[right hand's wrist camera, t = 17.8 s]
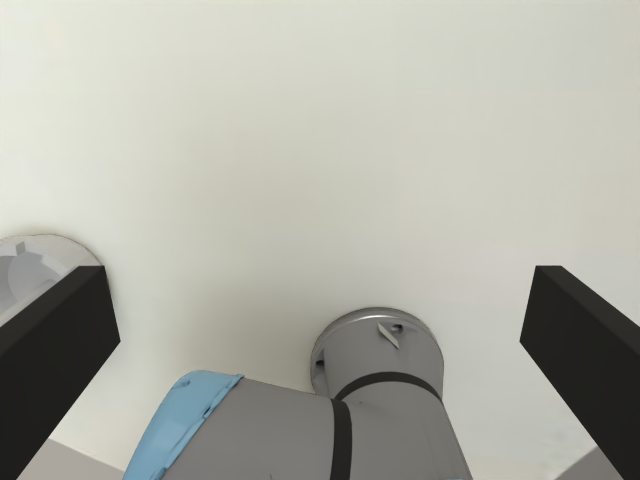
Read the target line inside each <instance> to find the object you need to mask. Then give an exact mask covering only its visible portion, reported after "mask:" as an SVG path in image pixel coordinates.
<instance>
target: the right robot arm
mask: <svg viewBox="0 0 640 480" xmlns="http://www.w3.org/2000/svg"><path fill="white" fill-rule="evenodd" d="M120 342H121V341H120V336H119V332H118V327H117V323H116V318H115V313H114V309H113V304H112V300H111V295H110V290H109V286H108V281H107V277H106V272H105V267H104V266H78V267H77V268H75V269H74V270H73V271H71V272H70V273H69V274H68V275H66V276H65V277H64V278H62V279H61V280H60V281H59V282H57V283H56V284H55V285H54V286H52V287H51V288H50V289H48V290H47V291H46V292H45V293H43V294H42V295H41V296H39V297H38V298H37V299H36V300H34V301H33V302H32V303H30V304H29V305H28V306H27V307H25V308H24V309H23V310H21V311H20V312H19V313H18V314H16V315H15V316H14V317H12V318H11V319H10V320H9V321H7V322H6V323H5V324H4V325H2V326H1V327H0V480H16V479H17V478H18V477H19V475H20V474H21V473H22V471H23V470H24V469H25V467H26V466H27V465H28V463H29V462H30V461H31V459H32V458H33V457H34V455H35V454H36V453H37V451H38V450H39V449H40V448H41V446H42V445H43V443H44V442H45V441H46V439H47V438H48V437H49V436H50V434H51V433H52V432H53V430H54V429H55V428H56V426H57V425H58V424H59V422H60V421H61V420H62V418H63V417H64V416H65V414H66V413H67V412H68V410H69V409H70V408H71V407H72V405H73V404H74V403H75V401H76V400H77V399H78V397H79V396H80V395H81V393H82V392H83V391H84V389H85V388H86V387H87V385H88V384H89V383H90V381H91V380H92V379H93V377H94V376H95V375H96V373H97V372H98V371H99V369H100V368H101V367H102V365H103V364H104V363H105V362H106V360H107V359H108V358H109V356H110V355H111V354H112V352H113V351H114V350H115V348H116V347H117V346H118V344H119V343H120ZM519 342H520V343H521V344H522V346H523V347H524V348H525V350H526V351H527V352H528V354H529V355H530V356H531V358H532V359H533V360H534V362H535V363H536V364H537V365H538V367H539V368H540V369H541V371H542V372H543V373H544V375H545V376H546V377H547V379H548V380H549V381H550V383H551V384H552V385H553V387H554V388H555V389H556V391H557V392H558V393H559V395H560V396H561V397H562V399H563V400H564V401H565V403H566V404H567V405H568V407H569V408H570V409H571V410H572V412H573V413H574V414H575V416H576V417H577V418H578V420H579V421H580V422H581V424H582V425H583V426H584V428H585V429H586V430H587V432H588V433H589V434H590V436H591V437H592V438H593V440H594V441H595V442H596V444H597V445H598V446H599V448H600V449H601V450H602V452H603V453H604V454H605V455H606V457H607V458H608V459H609V461H610V462H611V463H612V465H613V466H614V467H615V469H616V470H617V471H618V473H619V474H620V475H621V477H622V478H623V479H624V480H640V327H639V326H638V325H636V324H635V323H634V322H633V321H631V320H630V319H629V318H628V317H626V316H625V315H624V314H622V313H621V312H620V311H619V310H617V309H616V308H615V307H613V306H612V305H611V304H610V303H608V302H607V301H606V300H604V299H603V298H602V297H601V296H599V295H598V294H597V293H595V292H594V291H593V290H592V289H590V288H589V287H588V286H586V285H585V284H584V283H583V282H581V281H580V280H579V279H578V278H576V277H575V276H574V275H572V274H571V273H570V272H569V271H567V270H566V269H565V268H563V267H562V266H536V267H535V272H534V277H533V281H532V286H531V290H530V295H529V300H528V304H527V309H526V313H525V318H524V323H523V327H522V332H521V336H520V341H519ZM443 374H444V361H443V356H442V353H441V350H440V348H439V346H438V343H437V341H436V339H435V337H434V335H433V334H432V332H431V331H430V330H429V328H428V327H427V326H426V325H425V324H424V323H423V322H421V321H420V320H419V319H417V318H415V317H414V316H412V315H410V314H408V313H405V312H403V311H399V310H396V309H390V308H367V309H362V310H357V311H354V312H351V313H349V314H347V315H344V316H342V317H341V318H339V319H337V320H336V321H334V322H333V323H332V324H330V325H329V326H328V327H327V328H326V329H325V330H324V331H323V333H322V334H321V335H320V337H319V338H318V340H317V342H316V344H315V346H314V349H313V352H312V357H311V381H312V385H313V388H314V390H315V392H316V394H317V395H315V394H311V393H306V392H301V391H297V390H292V389H288V388H283V387H279V386H275V385H271V384H267V383H262V382H258V381H254V380H250V379H246V378H244V375H241V374H238V375H236V376H233V375H228V374H222V373H216V372H210V371H204V370H198V371H193V372H190V373H188V374H186V375H185V376H183V377H182V378H181V379H179V380H178V381H177V382H176V383H175V384H174V386H173V387H172V388H171V390H170V391H169V392H168V394H167V395H166V397H165V398H164V400H163V401H162V403H161V404H160V406H159V408H158V409H157V411H156V412H155V414H154V416H153V418H152V420H151V421H150V423H149V425H148V427H147V429H146V430H145V432H144V434H143V436H142V438H141V440H140V442H139V444H138V446H137V448H136V450H135V452H134V454H133V456H132V459H131V461H130V463H129V465H128V467H127V469H126V472H125V474H124V477H123V479H122V480H473V478H472V476H471V473H470V470H469V468H468V465H467V463H466V460H465V458H464V455H463V453H462V450H461V448H460V445H459V443H458V440H457V438H456V435H455V433H454V430H453V428H452V425H451V423H450V420H449V418H448V415H447V412H446V410H445V407H444V405H443V402H442V393H443Z"/></svg>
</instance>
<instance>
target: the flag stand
mask: <svg viewBox="0 0 640 480" xmlns="http://www.w3.org/2000/svg"><path fill="white" fill-rule="evenodd" d="M78 266H101V264H100V263H99V261H98V260H97V259H96V258H95V257H94V256H93V255H92V253H90V252H89V251H88V250H87V249H85V248H84V247H83V246H81V245H79V244H78V243H76V242H74V241H72V240H69V239H67V238H64V237H60V236H56V235H44V234H42V235H35V236H14V237H7V238H4V239H1V240H0V327H1V326H2V325H4V324H5V323H6V322H7V321H9V320H10V319H11V318H12V317H14V316H15V315H16V314H18V313H19V312H20V311H21V310H23V309H24V308H25V307H27V306H28V305H29V304H30V303H32V302H33V301H34V300H36V299H37V298H38V297H39V296H41V295H42V294H43V293H45V292H46V291H47V290H48V289H50V288H51V287H52V286H54V285H55V284H56V283H57V282H59V281H60V280H61V279H62V278H64V277H65V276H66V275H68V274H69V273H70V272H71V271H73V270H74V269H75V268H77V267H78ZM106 277H107V276H106ZM107 281H108V279H107ZM108 286H109V285H108Z"/></svg>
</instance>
